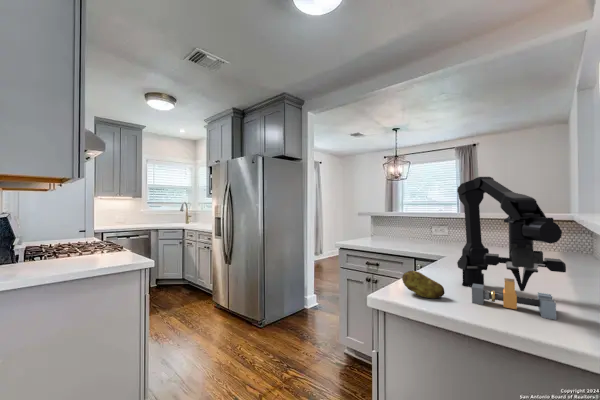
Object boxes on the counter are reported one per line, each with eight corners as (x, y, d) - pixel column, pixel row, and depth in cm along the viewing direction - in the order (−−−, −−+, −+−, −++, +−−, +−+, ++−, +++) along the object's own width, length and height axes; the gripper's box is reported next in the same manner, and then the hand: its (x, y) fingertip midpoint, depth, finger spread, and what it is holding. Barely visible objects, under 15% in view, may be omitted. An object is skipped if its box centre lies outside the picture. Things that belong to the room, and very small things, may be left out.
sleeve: (503, 307, 83) (502, 280, 83) (503, 302, 86) (502, 277, 86) (517, 309, 81) (516, 282, 81) (516, 304, 84) (515, 279, 85)
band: (491, 302, 85) (491, 291, 85) (491, 299, 88) (491, 289, 88) (494, 303, 84) (494, 292, 85) (494, 300, 87) (494, 289, 87)
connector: (472, 302, 87) (471, 287, 87) (473, 298, 91) (473, 283, 91) (489, 305, 85) (488, 289, 85) (489, 301, 89) (489, 285, 89)
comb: (541, 317, 76) (541, 300, 76) (537, 307, 83) (537, 292, 83) (556, 319, 74) (555, 303, 74) (551, 309, 81) (550, 294, 82)
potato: (435, 303, 87) (435, 278, 87) (398, 293, 97) (398, 271, 97) (447, 297, 92) (446, 274, 92) (411, 289, 102) (410, 267, 102)
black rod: (481, 298, 87) (481, 292, 87) (481, 296, 89) (481, 290, 89) (539, 307, 79) (539, 300, 79) (539, 305, 80) (538, 298, 80)
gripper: (482, 239, 81) (483, 292, 81) (569, 244, 70) (571, 305, 70) (483, 235, 90) (484, 283, 90) (561, 239, 79) (562, 293, 79)
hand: (521, 290), depth 82 cm, fingers closed
